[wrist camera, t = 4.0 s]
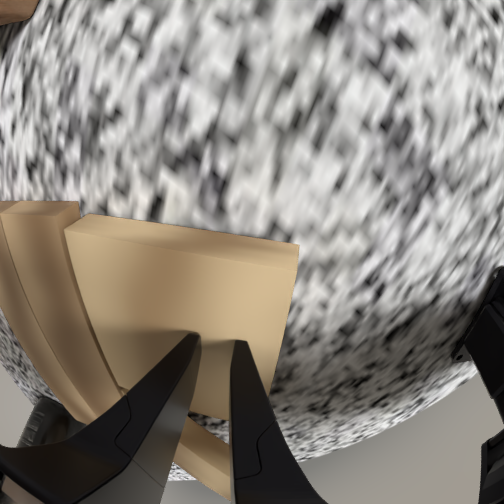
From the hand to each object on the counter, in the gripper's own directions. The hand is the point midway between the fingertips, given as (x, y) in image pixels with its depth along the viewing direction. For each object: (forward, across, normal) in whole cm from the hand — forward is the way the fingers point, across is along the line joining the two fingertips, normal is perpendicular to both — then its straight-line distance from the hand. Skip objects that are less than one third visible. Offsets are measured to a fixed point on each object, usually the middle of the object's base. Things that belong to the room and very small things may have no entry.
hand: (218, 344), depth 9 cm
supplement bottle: (+2, +19, +21) cm, 28 cm away
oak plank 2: (0, +2, +11) cm, 11 cm away
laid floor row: (+2, +10, +6) cm, 12 cm away
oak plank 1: (+2, +2, +1) cm, 3 cm away
